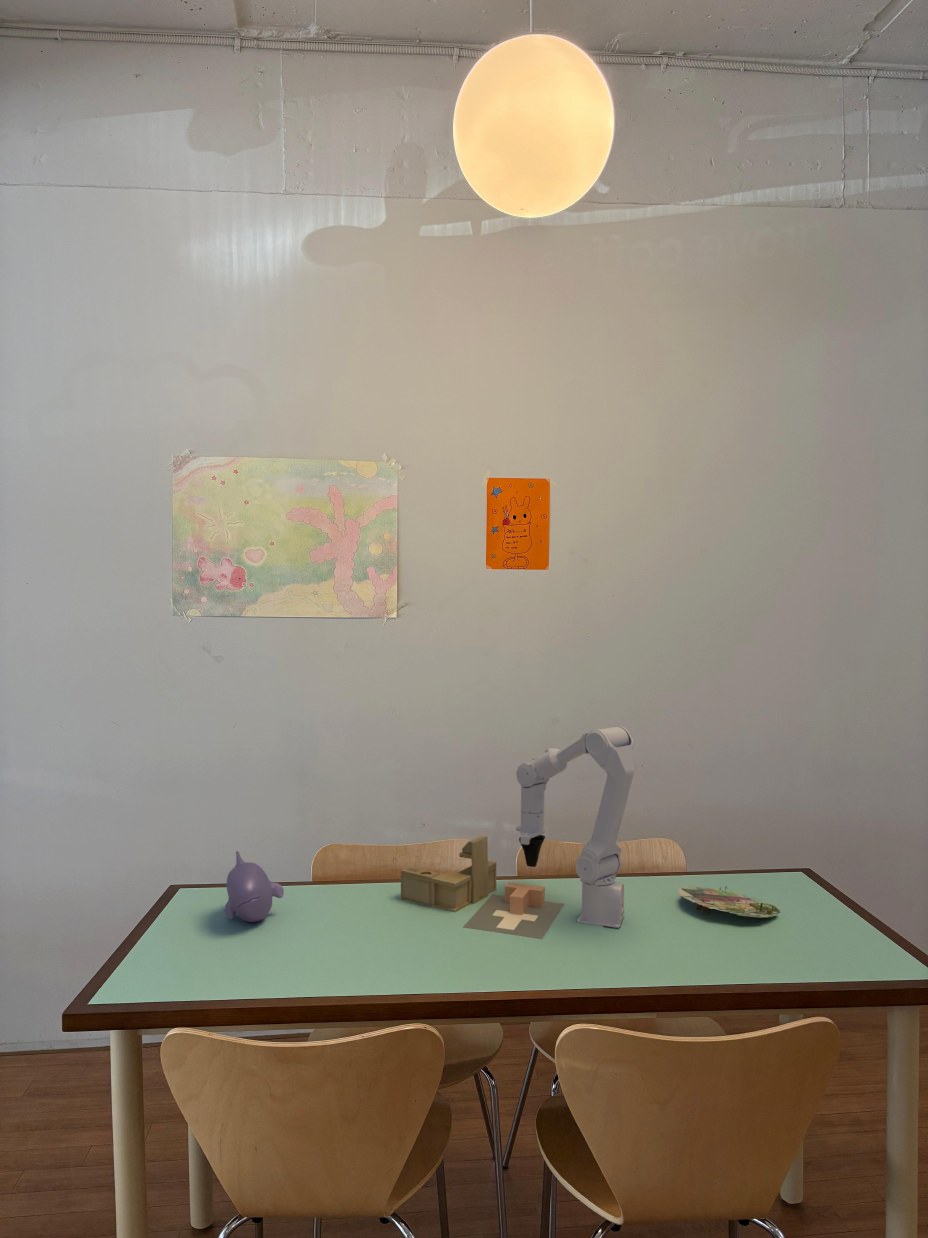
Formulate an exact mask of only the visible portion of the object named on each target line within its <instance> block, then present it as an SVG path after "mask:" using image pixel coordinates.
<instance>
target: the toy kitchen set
mask: <svg viewBox="0 0 928 1238" xmlns="http://www.w3.org/2000/svg"><path fill="white" fill-rule="evenodd" d="M488 841H489V839H488V836H482V835H480V836H478V837H476V838H473V839H471V840H469V841H468V842H467V843H466V844H465V845H464V846H463V847H462V848H461V852H459V855H458V857H459V858H463V859H470V860H471V865H470V866H468V867H465V868H464V869H462V870H460V871H459V872H449V873H439V872H436V871H431V870H427V869H422V868H418V867H415V866H408V867H406V868H403V869H401V870H400V900H402V901H406V902H410V903H414V904H417V905H418V904H419V905H421V906H426V907H429V908H432V907H433V908H437V909H441V910H445V911H448V912H452V913H457V912H458V911H461V910H462V909H464V908H466V907H467V906H469V905H471V904H473V905H476V904H477V903H478V902H481V901H482V900H484V899H486V898H487V897H489V895H490V894H491V893H493V892H495V891H497V862H496V861H491V860H489V858H488V857H489V854H488V852H489V850H488V847H489V846H488V844H489V843H488Z"/></svg>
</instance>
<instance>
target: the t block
mask: <svg viewBox="0 0 928 1238" xmlns="http://www.w3.org/2000/svg"><path fill="white" fill-rule="evenodd" d="M545 889H546V887H545V886H540V885H531V884H525V883H524V884H523V883H516V882H507V883H506V884H505V885H504V896H505V903H508V904H510V914H518V915H523V914H524V912H525V911H526V910H527V908H528V907H529V906H531V907H538V908H542V907H543V905H544V904H545V901H546V897H545V895H546V892H545V891H546V890H545Z"/></svg>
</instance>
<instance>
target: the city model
mask: <svg viewBox="0 0 928 1238" xmlns="http://www.w3.org/2000/svg"><path fill="white" fill-rule="evenodd" d="M726 890H729V888H728V887H727V884H726V886H725V887H724V890H722V888H721V887H720V888H719V889H716V888H708V887H698V886H689V885H686V886H682V887H680V888H678V892H677V894H678V895H679V896H681V897H682V898H684V899H686V900H689V901H690V902H692V903H694V904H696V911H697V912H698V911H699V912H700V911H701V913H700V914H701V915H708V914H710V910H712V909H714V910H718V911H722V912H724V913H725V912H727V913H730V914H734V915H737V916H740V917H751V918H770V917H771V918H773V917H774V916H775V917H777V915H778V914H780V912H781V909H779V908H778V907H776V906H775V905H773V904H770V903H763V902H758V901H756V900H754V899H751V898H750V897H746V896H744V895H741V894H740V893H739V894H738V893H734V892H732V891H726Z"/></svg>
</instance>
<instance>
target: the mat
mask: <svg viewBox="0 0 928 1238" xmlns="http://www.w3.org/2000/svg"><path fill="white" fill-rule="evenodd" d="M564 906H565V903H560V902H552V901H546V900H545V904H544V905H543V907H542V908H538V907H531V906H529V907H528V908H527V910H526V911H525V912H524V914H523V915H518V914H510V904H508V903H505V895H498V894H492V895H491V896H489V898H487V900H486V901H485V902H484V903H483V904H482V905H481V906H480V907H479V909H477V910H476V912H475V913H474V914H473V915H472V916H471V918H470V919H469V920H468V921H467V922H466V923H465V924H464V925H463V926H462V928H465V929H470V930H477V931H485V932H490V933H496V934H497V933H499V934H505V935H514V936H519V937H526V938H531V939H532V938H533V939H538V940H539V939H540V940H542V939H544V937H545V936H546V934H547V933H548V931H549V929H550V927H551V926H552V924H553V923H554V921H555V920H556V919H557V917H558V915H559V914H560V912H561V910H562V909H563V907H564Z"/></svg>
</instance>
